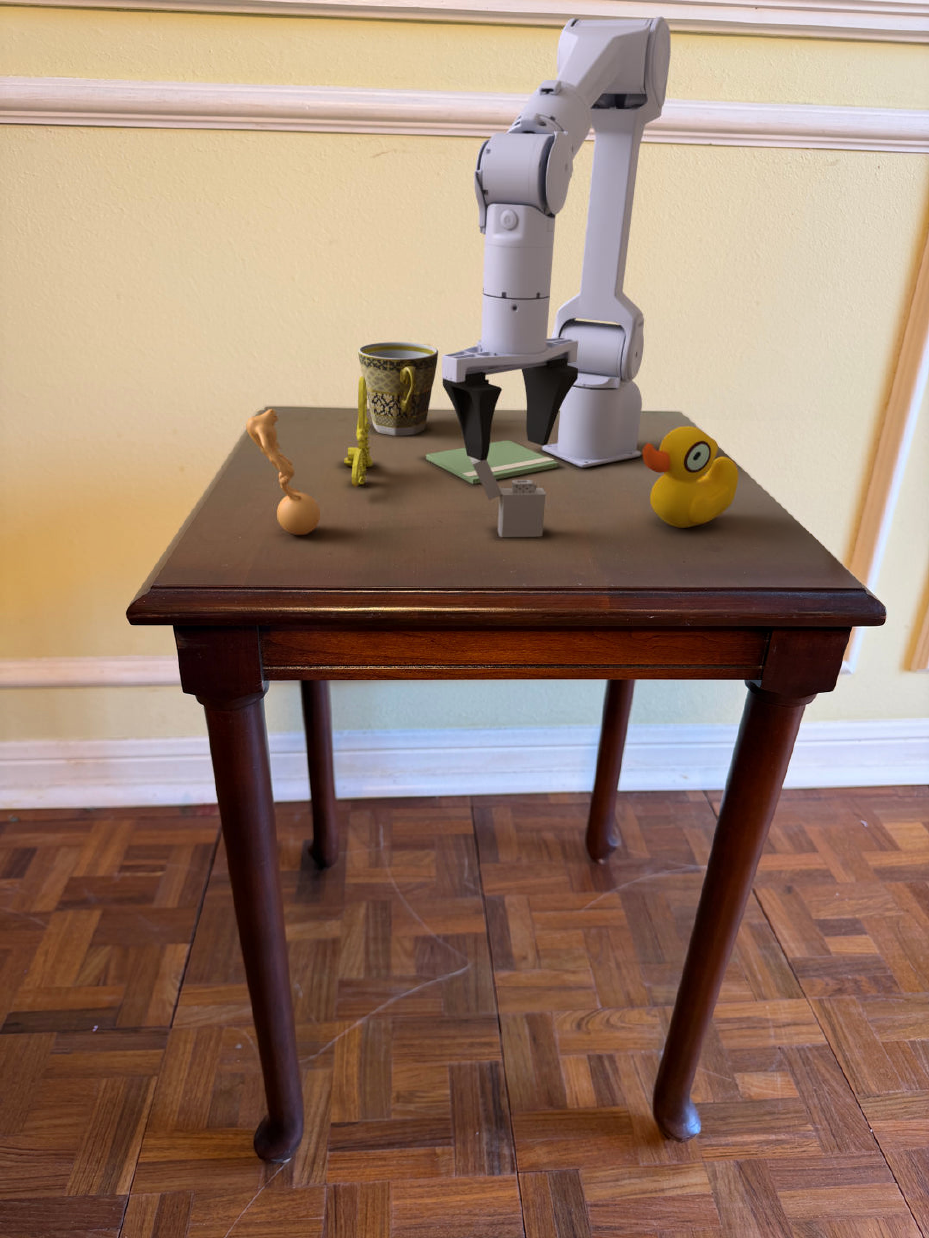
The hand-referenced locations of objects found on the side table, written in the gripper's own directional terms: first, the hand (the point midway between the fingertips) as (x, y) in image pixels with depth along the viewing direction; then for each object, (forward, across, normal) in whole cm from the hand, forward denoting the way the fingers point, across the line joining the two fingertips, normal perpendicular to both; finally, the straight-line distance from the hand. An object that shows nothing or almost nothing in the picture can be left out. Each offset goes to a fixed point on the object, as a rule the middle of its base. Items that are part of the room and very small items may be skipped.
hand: (507, 450), depth 81 cm
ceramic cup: (+8, -12, -33) cm, 36 cm away
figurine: (+8, +17, -12) cm, 22 cm away
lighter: (+8, 0, 0) cm, 9 cm away
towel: (+8, -13, -16) cm, 23 cm away
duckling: (+8, -16, +9) cm, 20 cm away
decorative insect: (+8, +4, -20) cm, 22 cm away
